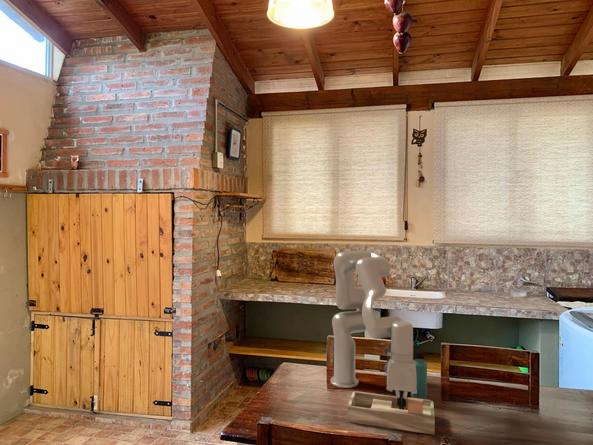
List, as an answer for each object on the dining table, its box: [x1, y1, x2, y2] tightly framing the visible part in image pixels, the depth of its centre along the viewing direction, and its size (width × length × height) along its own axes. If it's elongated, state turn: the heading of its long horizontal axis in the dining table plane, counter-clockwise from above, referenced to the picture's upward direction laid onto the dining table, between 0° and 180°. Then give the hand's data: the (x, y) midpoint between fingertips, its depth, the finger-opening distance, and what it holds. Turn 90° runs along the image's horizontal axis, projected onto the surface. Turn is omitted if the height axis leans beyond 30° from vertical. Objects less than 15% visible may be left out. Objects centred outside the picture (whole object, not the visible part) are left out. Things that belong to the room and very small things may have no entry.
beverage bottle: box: [410, 350, 428, 400], centre depth 164 cm, size 6×7×20 cm
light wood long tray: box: [346, 390, 436, 436], centre depth 150 cm, size 14×30×6 cm, turn 74°
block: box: [407, 397, 423, 415], centre depth 144 cm, size 5×5×5 cm
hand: (401, 407), depth 145 cm, fingers closed
